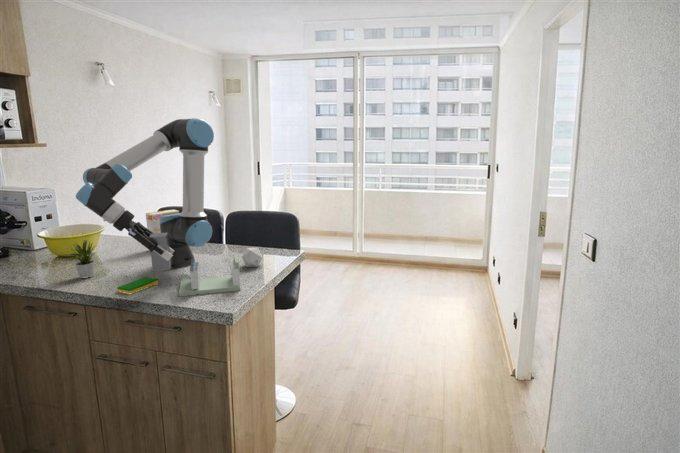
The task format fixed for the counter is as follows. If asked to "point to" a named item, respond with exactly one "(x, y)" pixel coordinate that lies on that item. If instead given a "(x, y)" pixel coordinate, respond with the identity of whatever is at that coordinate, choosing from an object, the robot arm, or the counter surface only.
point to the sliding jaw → (194, 274)
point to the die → (252, 257)
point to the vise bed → (214, 283)
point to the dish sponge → (138, 285)
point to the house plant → (83, 259)
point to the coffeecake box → (157, 219)
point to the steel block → (157, 260)
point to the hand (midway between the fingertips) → (171, 255)
